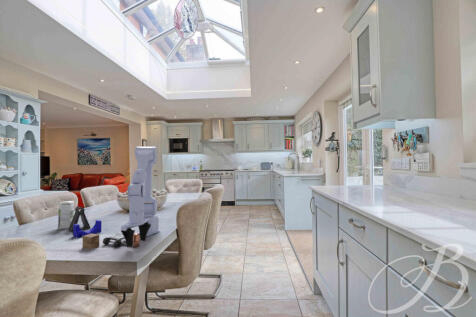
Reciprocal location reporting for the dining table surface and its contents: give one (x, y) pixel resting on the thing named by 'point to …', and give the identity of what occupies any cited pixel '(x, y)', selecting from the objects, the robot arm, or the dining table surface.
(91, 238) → the block
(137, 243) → the pin
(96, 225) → the cable clip
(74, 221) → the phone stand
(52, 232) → the dining table surface
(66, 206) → the syrup box
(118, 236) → the dolly
